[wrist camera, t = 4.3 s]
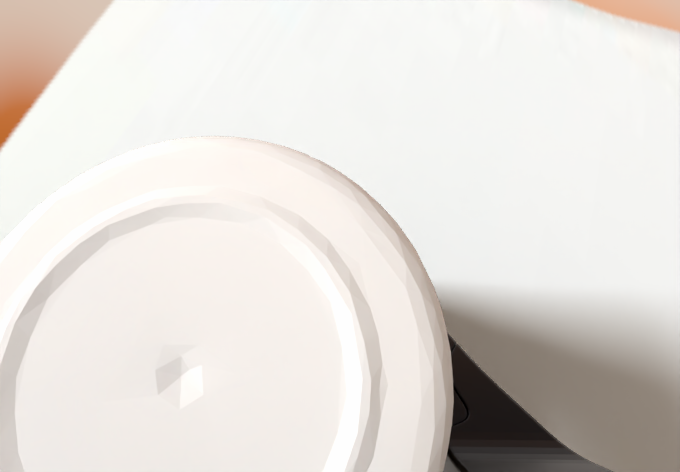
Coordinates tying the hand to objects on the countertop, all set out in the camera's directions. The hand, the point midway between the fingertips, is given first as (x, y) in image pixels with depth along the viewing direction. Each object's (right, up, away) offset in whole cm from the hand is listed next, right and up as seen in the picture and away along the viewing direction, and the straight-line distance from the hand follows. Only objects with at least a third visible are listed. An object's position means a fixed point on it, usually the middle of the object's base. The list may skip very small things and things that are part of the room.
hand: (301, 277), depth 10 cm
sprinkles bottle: (0, -3, +6) cm, 7 cm away
